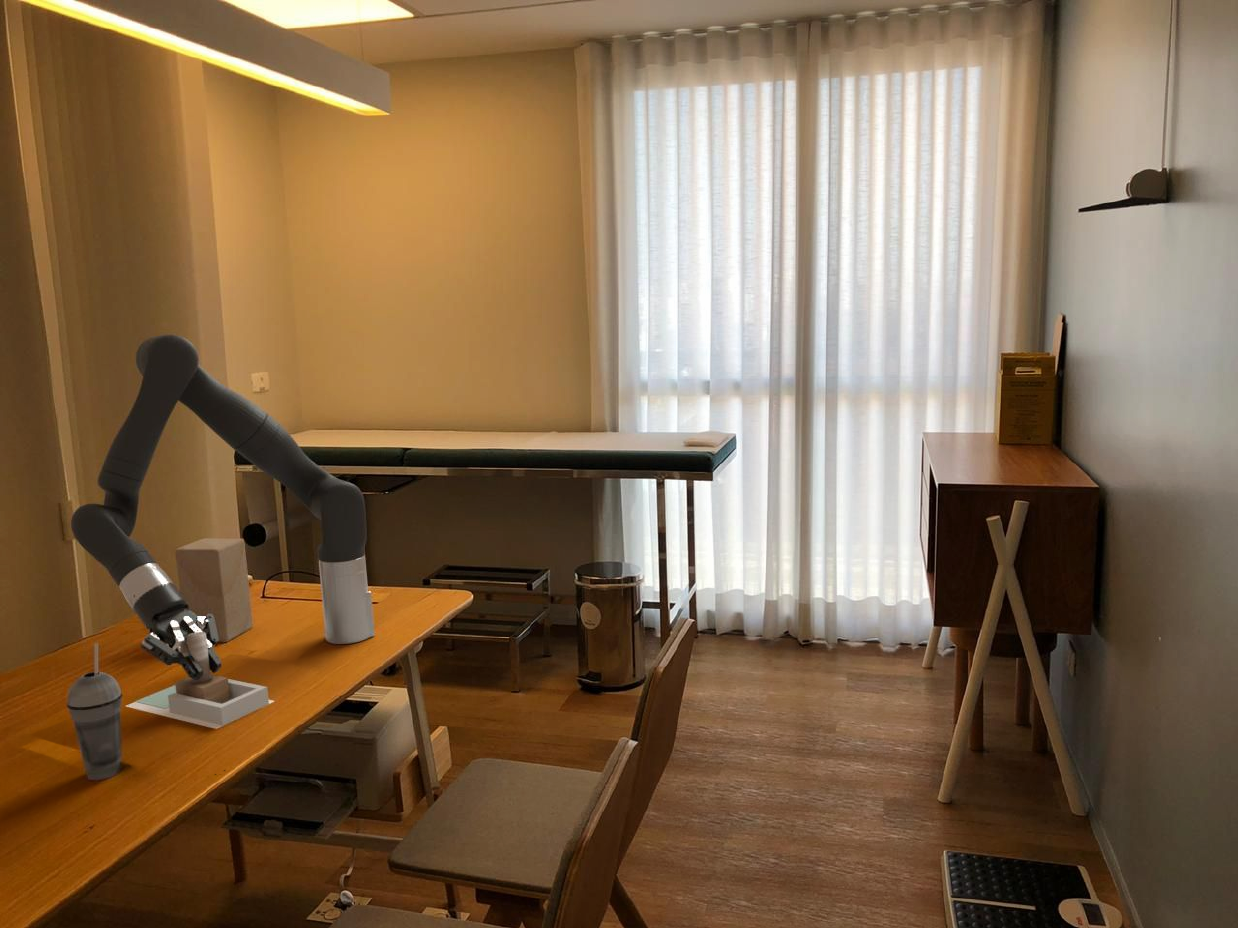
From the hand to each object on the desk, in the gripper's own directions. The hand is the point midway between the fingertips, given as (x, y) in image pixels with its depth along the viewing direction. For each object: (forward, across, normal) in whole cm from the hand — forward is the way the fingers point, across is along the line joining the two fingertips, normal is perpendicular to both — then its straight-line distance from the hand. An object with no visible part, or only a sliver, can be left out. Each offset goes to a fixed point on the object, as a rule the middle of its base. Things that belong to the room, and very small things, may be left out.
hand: (208, 672), depth 164 cm
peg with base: (+3, 0, +6) cm, 6 cm away
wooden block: (-19, +31, +30) cm, 47 cm away
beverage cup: (+7, -22, +4) cm, 23 cm away
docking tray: (+3, 0, +7) cm, 8 cm away
